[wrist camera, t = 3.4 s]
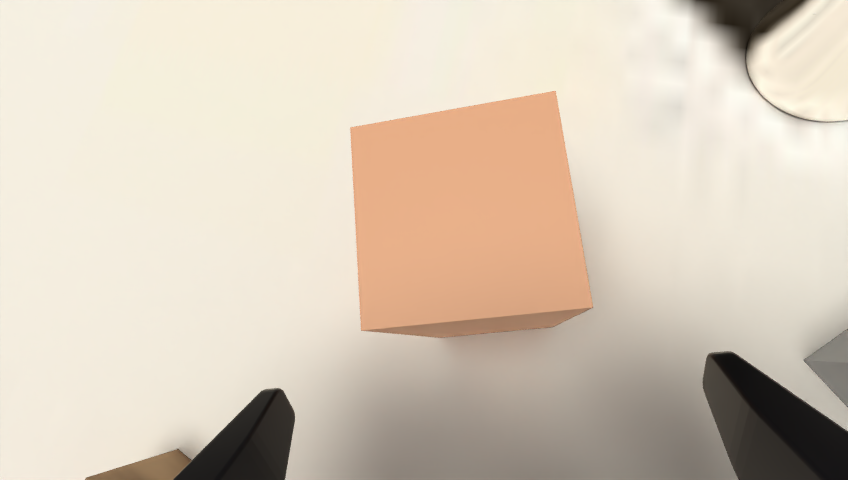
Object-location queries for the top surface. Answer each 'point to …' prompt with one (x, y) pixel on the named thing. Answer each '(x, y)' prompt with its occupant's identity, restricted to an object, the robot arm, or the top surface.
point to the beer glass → (803, 58)
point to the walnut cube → (148, 468)
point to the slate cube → (833, 365)
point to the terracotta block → (467, 221)
